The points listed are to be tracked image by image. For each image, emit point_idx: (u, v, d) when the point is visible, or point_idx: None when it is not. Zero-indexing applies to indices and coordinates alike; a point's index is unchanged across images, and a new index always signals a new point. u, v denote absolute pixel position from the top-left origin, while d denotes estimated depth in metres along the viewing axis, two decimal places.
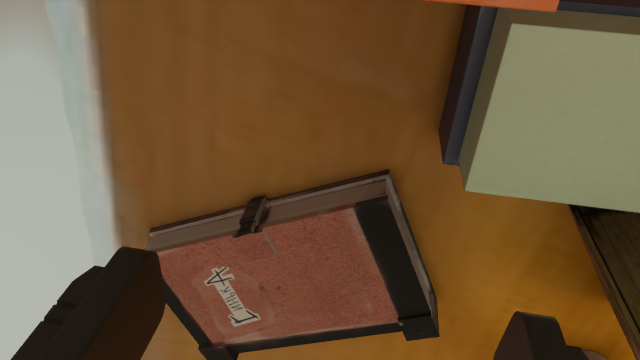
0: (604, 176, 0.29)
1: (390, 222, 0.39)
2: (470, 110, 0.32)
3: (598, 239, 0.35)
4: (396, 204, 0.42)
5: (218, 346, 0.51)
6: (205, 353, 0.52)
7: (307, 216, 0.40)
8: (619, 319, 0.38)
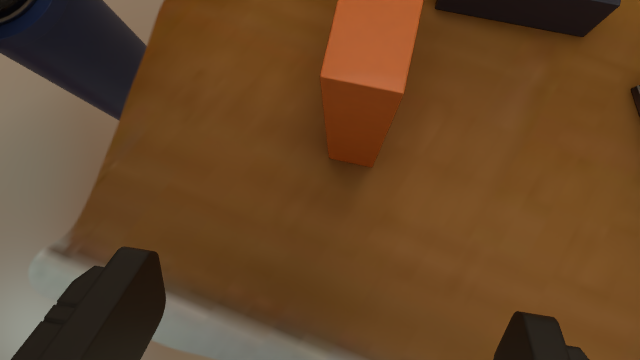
0: None
1: None
2: None
3: None
4: None
5: None
6: None
7: None
8: None
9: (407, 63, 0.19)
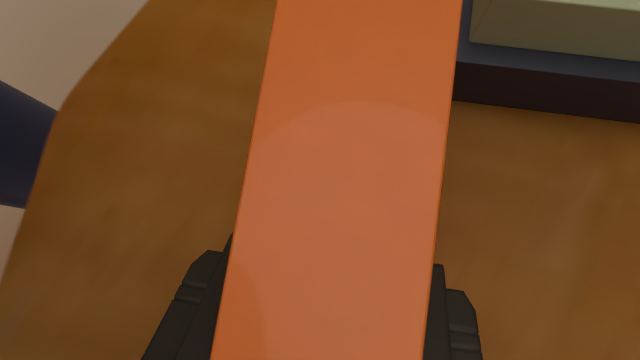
0: None
1: None
2: (621, 60, 0.22)
3: None
4: None
5: None
6: None
7: None
8: None
9: None
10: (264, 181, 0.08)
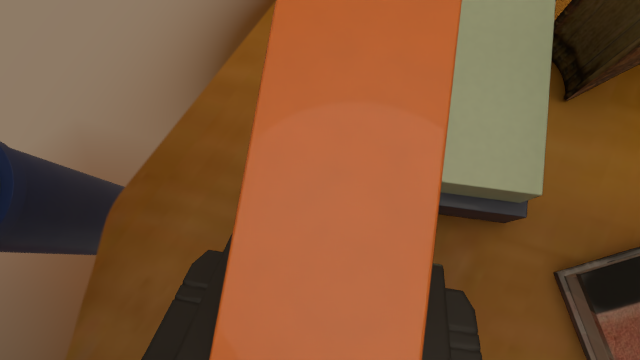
0: (514, 77, 0.32)
1: (613, 271, 0.34)
2: (466, 196, 0.35)
3: (601, 62, 0.35)
4: (598, 264, 0.38)
5: None
6: None
7: None
8: None
9: None
10: (263, 182, 0.08)
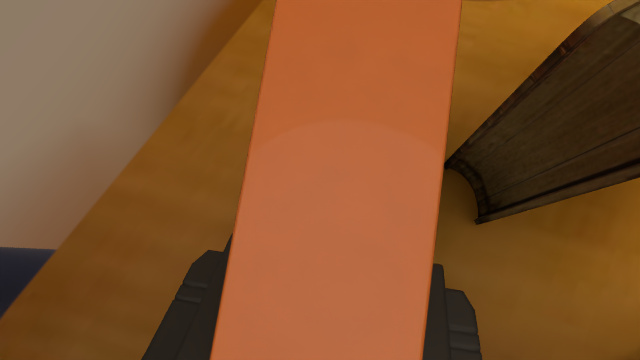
0: None
1: None
2: None
3: (501, 202, 0.32)
4: None
5: None
6: None
7: None
8: None
9: None
10: (264, 182, 0.08)
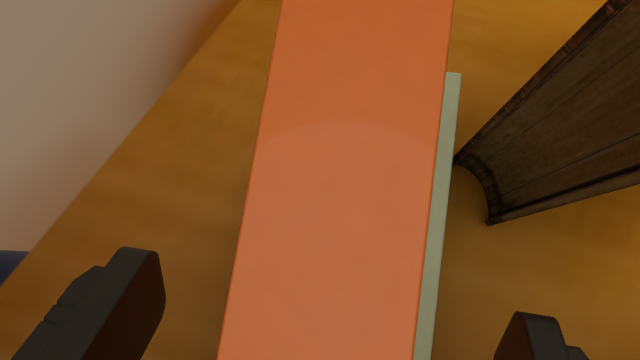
0: None
1: None
2: None
3: (516, 201, 0.29)
4: None
5: None
6: None
7: None
8: None
9: None
10: (265, 197, 0.09)
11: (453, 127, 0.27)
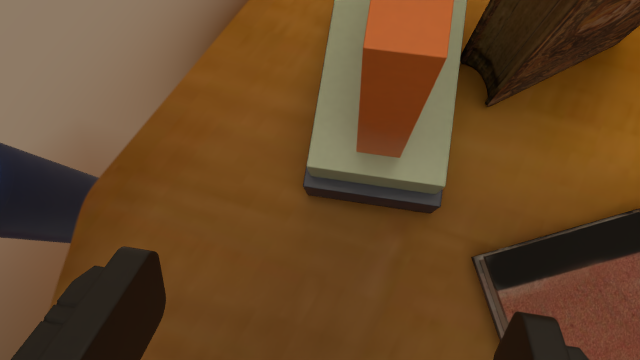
0: None
1: (513, 254, 0.39)
2: (389, 188, 0.40)
3: (508, 73, 0.41)
4: None
5: None
6: None
7: None
8: (604, 35, 0.40)
9: (447, 28, 0.19)
10: None
11: (463, 15, 0.39)
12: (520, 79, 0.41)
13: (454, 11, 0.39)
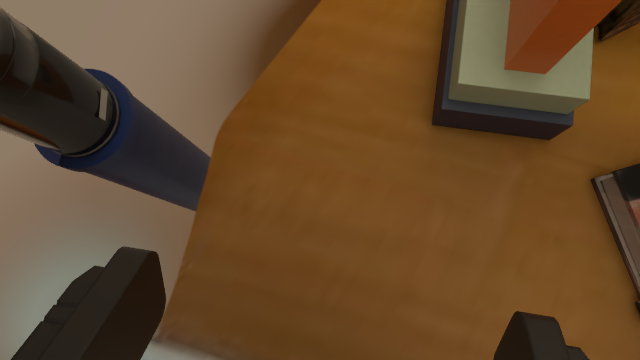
0: None
1: None
2: (523, 109, 0.43)
3: (633, 2, 0.44)
4: None
5: None
6: None
7: None
8: None
9: None
10: None
11: None
12: None
13: None
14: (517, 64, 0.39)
